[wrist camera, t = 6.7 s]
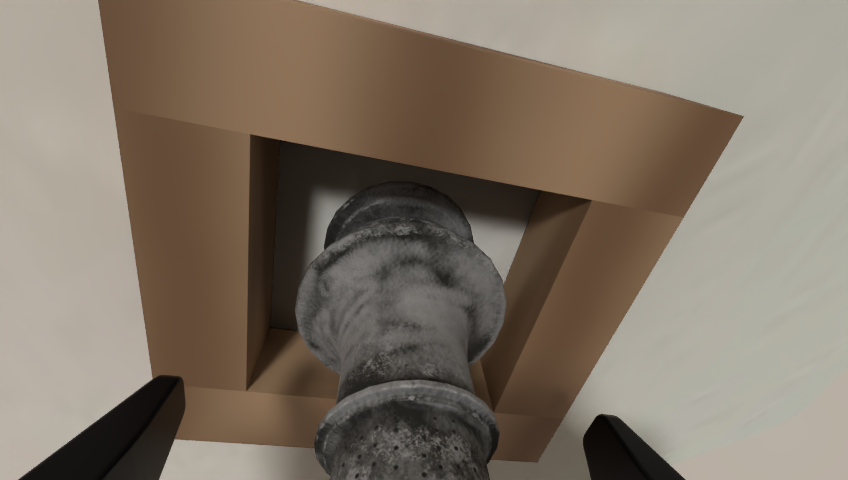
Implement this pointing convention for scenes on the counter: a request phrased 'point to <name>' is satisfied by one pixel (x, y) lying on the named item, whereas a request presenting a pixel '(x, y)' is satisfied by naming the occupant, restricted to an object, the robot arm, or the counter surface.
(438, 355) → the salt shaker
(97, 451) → the robot arm
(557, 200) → the well block
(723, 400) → the counter surface
